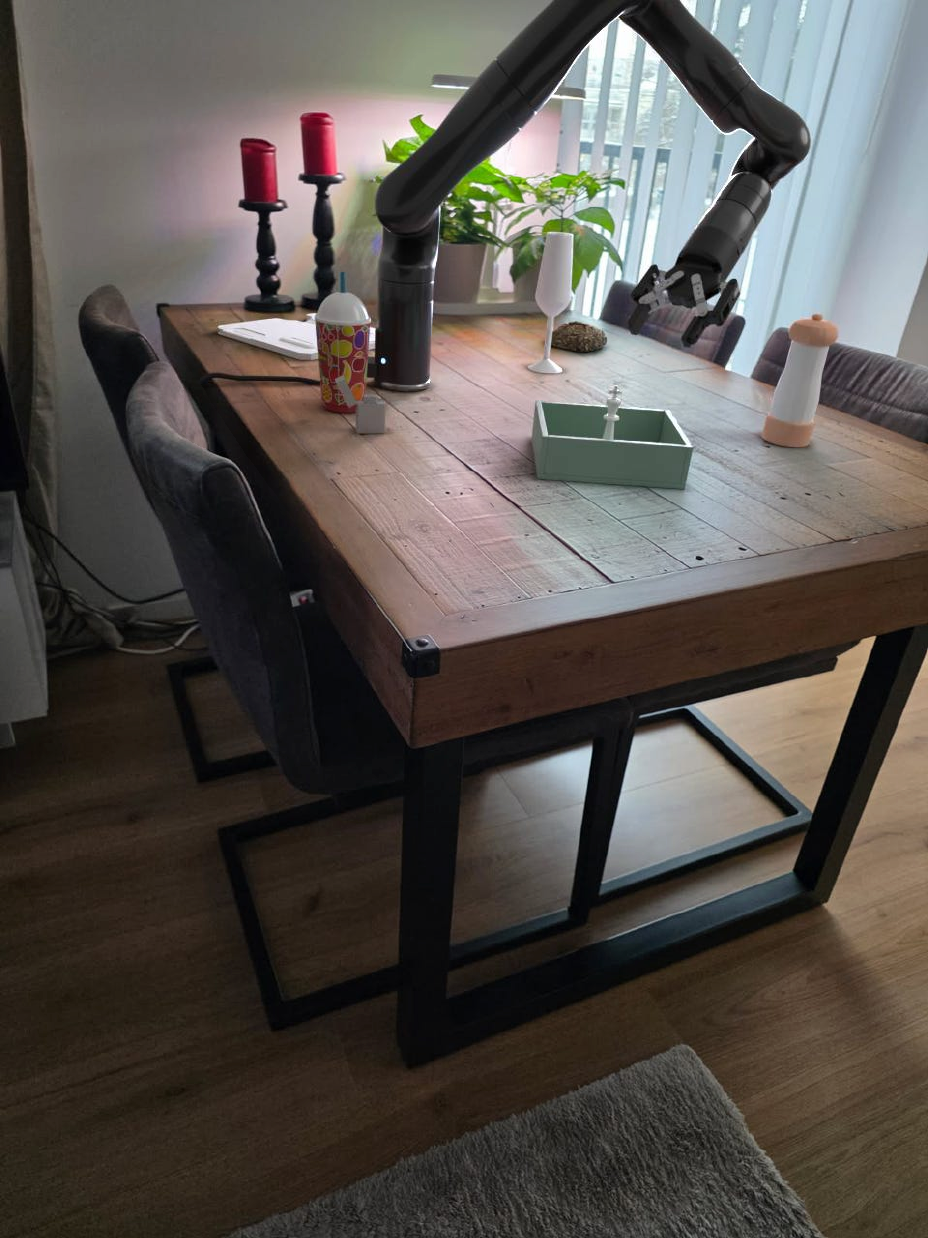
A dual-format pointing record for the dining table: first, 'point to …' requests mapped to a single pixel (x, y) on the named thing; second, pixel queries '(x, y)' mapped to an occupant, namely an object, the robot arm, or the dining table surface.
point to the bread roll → (578, 337)
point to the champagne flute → (554, 289)
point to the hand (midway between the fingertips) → (657, 337)
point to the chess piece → (612, 413)
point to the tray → (282, 336)
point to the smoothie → (342, 347)
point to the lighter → (365, 409)
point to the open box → (609, 446)
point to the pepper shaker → (800, 383)
